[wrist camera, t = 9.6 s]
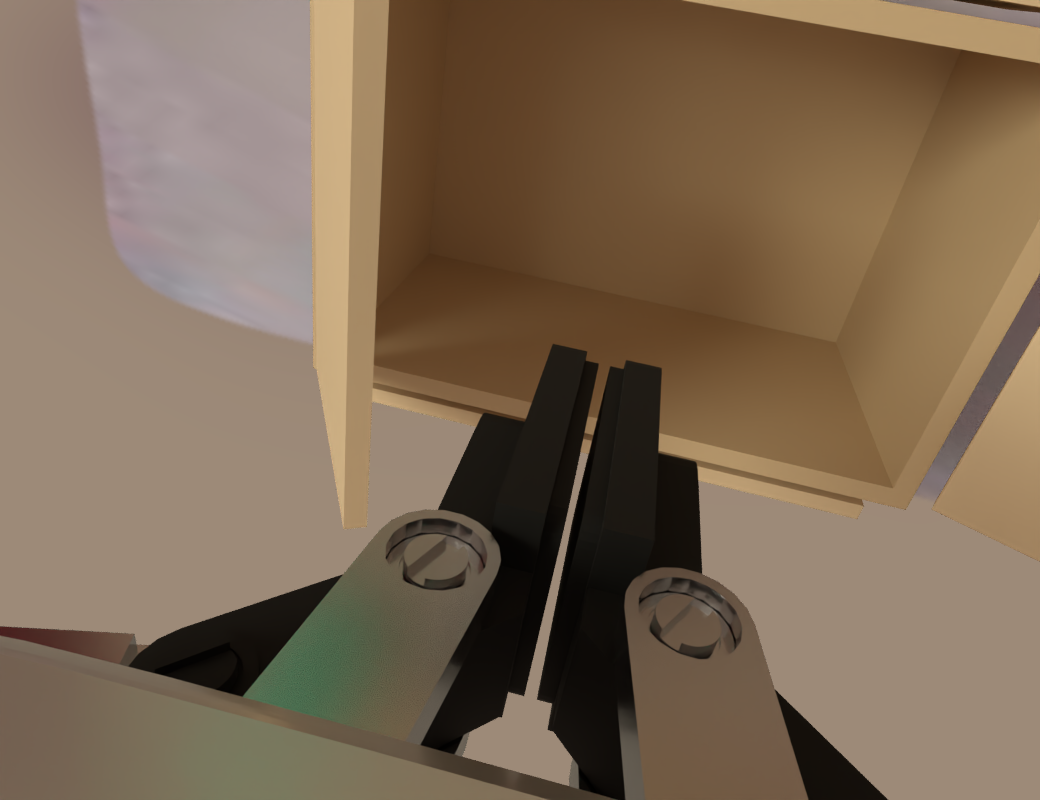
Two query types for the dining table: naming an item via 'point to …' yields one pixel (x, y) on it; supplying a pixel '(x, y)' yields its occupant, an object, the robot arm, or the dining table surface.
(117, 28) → the dining table surface
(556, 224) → the carton
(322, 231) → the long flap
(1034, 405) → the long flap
